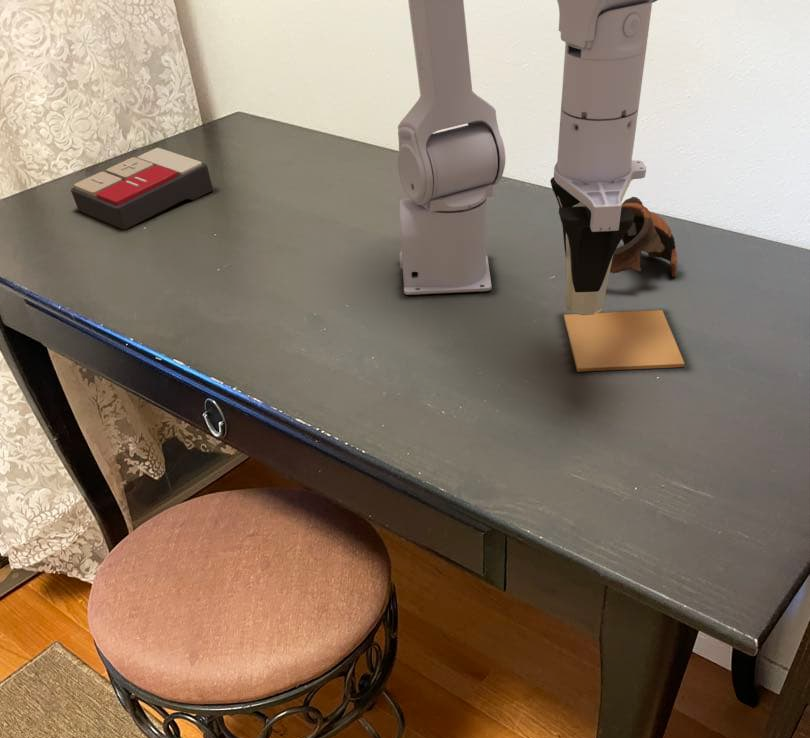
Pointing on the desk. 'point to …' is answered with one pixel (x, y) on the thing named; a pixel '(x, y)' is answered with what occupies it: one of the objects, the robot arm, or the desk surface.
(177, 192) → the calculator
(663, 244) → the broken clay pot
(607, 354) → the coaster
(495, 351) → the desk surface
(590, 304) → the milkshake
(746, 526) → the desk surface
